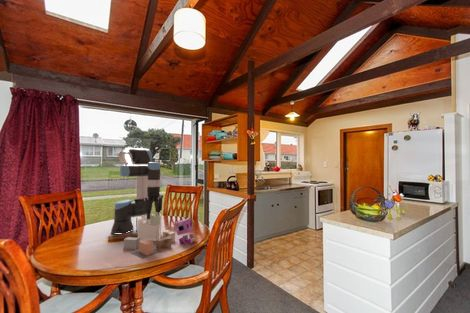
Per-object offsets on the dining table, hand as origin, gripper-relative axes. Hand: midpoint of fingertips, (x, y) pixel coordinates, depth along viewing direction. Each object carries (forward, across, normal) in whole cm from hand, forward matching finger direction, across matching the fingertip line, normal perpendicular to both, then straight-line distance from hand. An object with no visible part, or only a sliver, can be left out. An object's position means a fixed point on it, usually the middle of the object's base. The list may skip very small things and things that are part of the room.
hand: (152, 223), depth 138 cm
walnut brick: (+15, +4, -7) cm, 17 cm away
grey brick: (+15, -8, +9) cm, 20 cm away
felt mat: (+15, -8, -5) cm, 18 cm away
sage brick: (+1, 0, 0) cm, 1 cm away
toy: (+15, +19, -9) cm, 26 cm away
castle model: (+15, +9, +15) cm, 23 cm away
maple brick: (+15, +14, +1) cm, 20 cm away
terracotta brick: (+15, -8, -5) cm, 17 cm away
